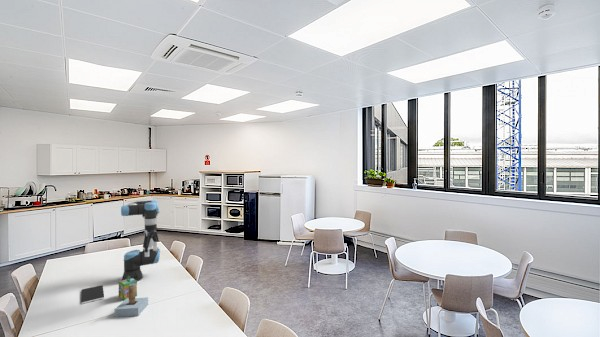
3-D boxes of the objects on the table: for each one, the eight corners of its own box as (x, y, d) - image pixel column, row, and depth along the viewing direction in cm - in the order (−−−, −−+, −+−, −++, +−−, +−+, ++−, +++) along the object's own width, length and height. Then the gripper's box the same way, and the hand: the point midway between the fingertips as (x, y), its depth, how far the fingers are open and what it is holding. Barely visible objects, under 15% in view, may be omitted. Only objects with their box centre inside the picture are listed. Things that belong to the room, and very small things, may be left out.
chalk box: (118, 297, 203) (117, 277, 203) (132, 292, 210) (131, 273, 210) (123, 301, 198) (122, 280, 197) (137, 296, 205) (137, 276, 205)
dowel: (130, 309, 186) (130, 285, 186) (136, 309, 186) (136, 285, 186) (127, 312, 182) (127, 287, 182) (133, 311, 183) (133, 287, 183)
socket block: (126, 305, 191) (126, 298, 191) (148, 304, 192) (148, 297, 192) (115, 317, 177) (114, 309, 177) (138, 315, 178) (138, 307, 178)
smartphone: (80, 305, 193) (80, 303, 193) (81, 291, 214) (81, 289, 214) (104, 299, 201) (104, 297, 201) (102, 286, 222) (102, 284, 222)
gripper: (152, 220, 214) (153, 248, 214) (136, 228, 189) (137, 259, 189) (162, 220, 215) (163, 248, 215) (148, 227, 190) (149, 259, 190)
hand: (151, 253), depth 202 cm, fingers open, 13 cm apart
